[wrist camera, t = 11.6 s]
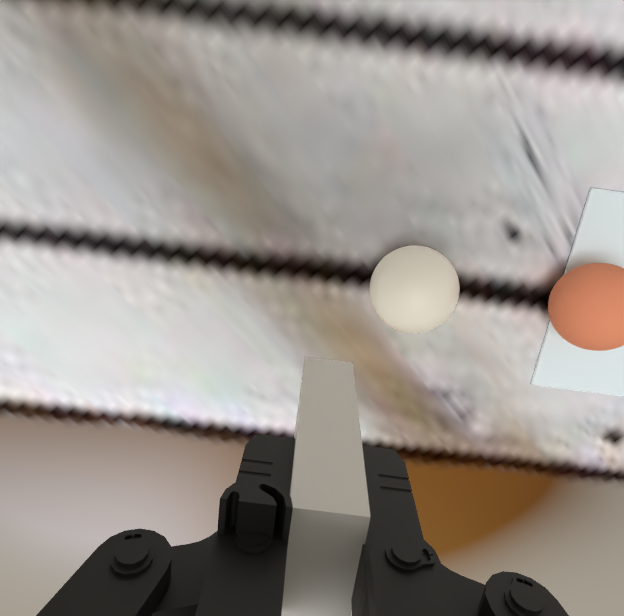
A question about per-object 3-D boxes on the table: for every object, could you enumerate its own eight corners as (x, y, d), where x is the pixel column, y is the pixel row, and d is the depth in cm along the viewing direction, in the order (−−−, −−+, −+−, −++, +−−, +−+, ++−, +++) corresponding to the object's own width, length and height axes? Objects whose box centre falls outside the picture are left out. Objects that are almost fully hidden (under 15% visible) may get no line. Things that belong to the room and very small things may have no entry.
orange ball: (609, 372, 28) (648, 356, 31) (641, 279, 26) (678, 273, 29) (521, 337, 32) (563, 326, 35) (544, 255, 30) (585, 252, 33)
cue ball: (444, 357, 28) (447, 328, 33) (471, 266, 26) (470, 250, 31) (353, 331, 29) (369, 307, 34) (373, 243, 28) (387, 231, 33)
